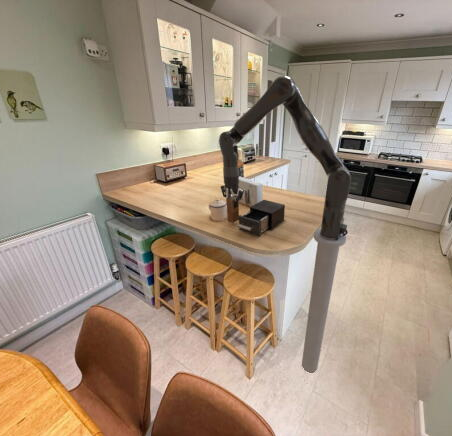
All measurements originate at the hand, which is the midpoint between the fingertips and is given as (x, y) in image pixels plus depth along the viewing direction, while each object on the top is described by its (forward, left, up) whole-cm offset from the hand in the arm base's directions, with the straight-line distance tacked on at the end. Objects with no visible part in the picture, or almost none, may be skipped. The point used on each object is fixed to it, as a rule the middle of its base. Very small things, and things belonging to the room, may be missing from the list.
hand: (232, 206), depth 122 cm
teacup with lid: (+13, -1, -11) cm, 17 cm away
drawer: (-14, +1, -10) cm, 17 cm away
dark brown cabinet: (-14, -12, -10) cm, 21 cm away
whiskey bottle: (+36, -47, -11) cm, 60 cm away
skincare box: (+10, -27, -11) cm, 31 cm away
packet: (0, 0, -8) cm, 8 cm away
